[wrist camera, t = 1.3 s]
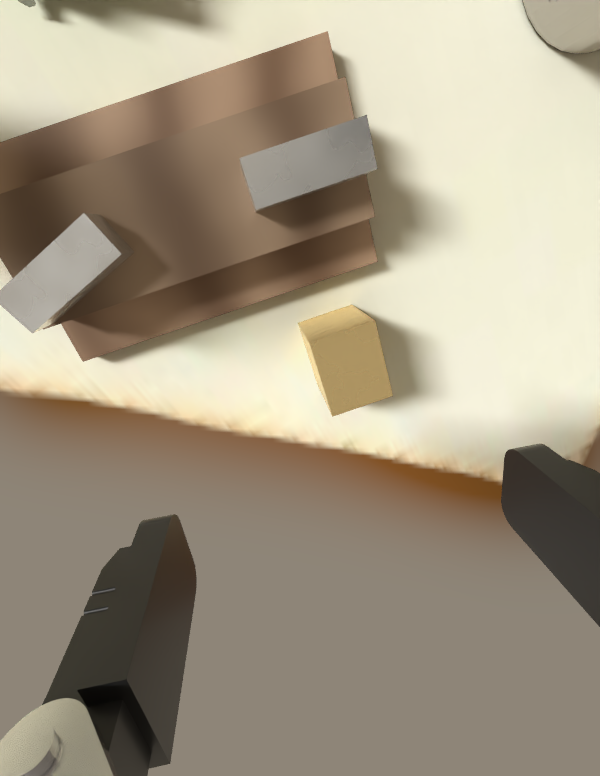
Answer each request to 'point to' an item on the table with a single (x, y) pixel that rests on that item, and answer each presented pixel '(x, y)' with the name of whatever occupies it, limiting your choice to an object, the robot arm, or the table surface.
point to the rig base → (169, 123)
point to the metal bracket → (28, 2)
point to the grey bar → (108, 250)
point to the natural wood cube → (346, 358)
